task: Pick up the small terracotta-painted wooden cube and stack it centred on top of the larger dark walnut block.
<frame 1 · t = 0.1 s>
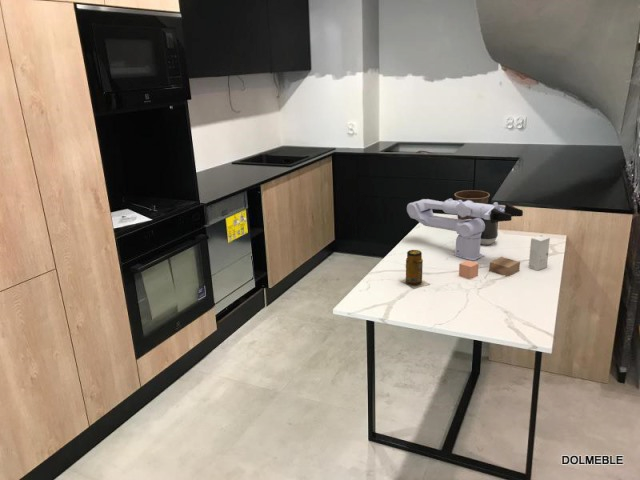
hand: (516, 215, 189), 22 cm above the table, tool horizontal, fingers open, 7 cm apart
condiment: (414, 283, 188), on the table
terracotta cube: (468, 275, 192), on the table
walnut block: (504, 271, 194), on the table
dark grey rounded figure: (485, 243, 224), on the table
plant pot: (470, 226, 248), on the table
skincare box: (537, 267, 196), on the table
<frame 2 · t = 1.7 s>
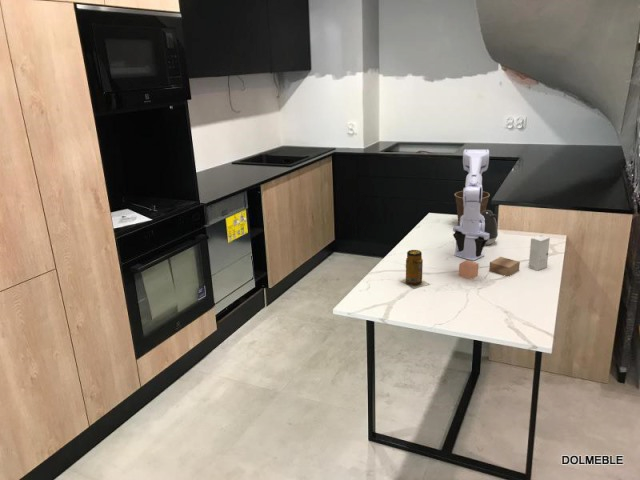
hand: (469, 253, 189), 9 cm above the table, tool pointing down, fingers open, 7 cm apart
nothing on the table moved.
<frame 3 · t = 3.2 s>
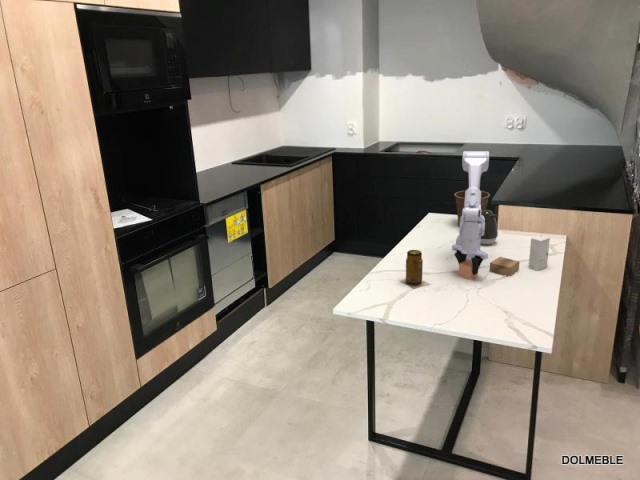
hand: (468, 272, 191), 1 cm above the table, tool pointing down, fingers closed on terracotta cube, 5 cm apart
terracotta cube: (468, 275, 192), on the table, touching gripper
everything else where it was.
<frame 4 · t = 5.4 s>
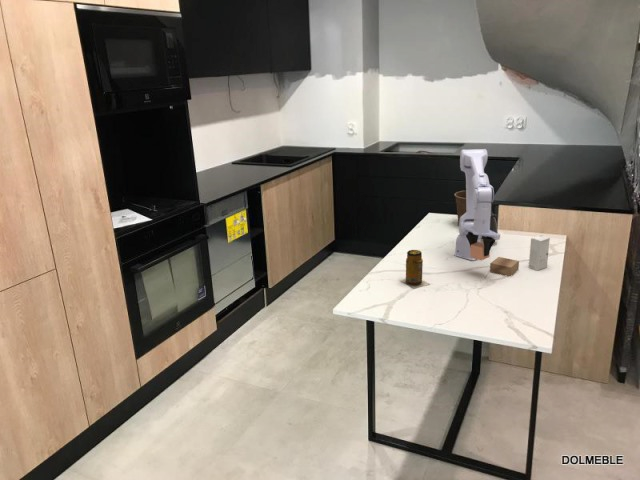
hand: (480, 253, 190), 8 cm above the table, tool pointing down, fingers closed on terracotta cube, 5 cm apart
terracotta cube: (479, 257, 190), point 7 cm above the table, touching gripper
everything else where it was.
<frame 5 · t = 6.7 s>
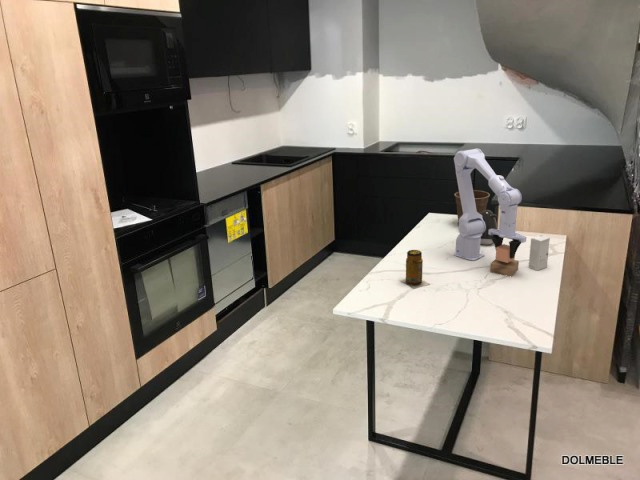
hand: (505, 255, 192), 6 cm above the table, tool pointing down, fingers closed on terracotta cube, 5 cm apart
terracotta cube: (505, 259, 193), point 5 cm above the table, touching gripper
everything else where it was.
when the fingers open (6 cm above the table, at t = 7.6 s): terracotta cube stays where it is, point 4 cm above the table.
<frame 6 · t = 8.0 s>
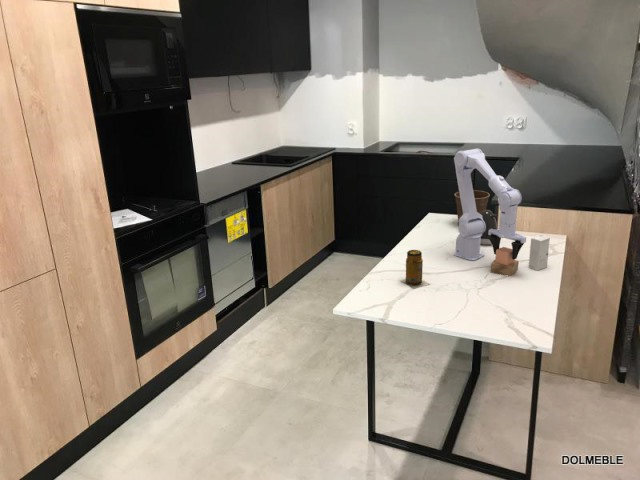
hand: (505, 256, 192), 6 cm above the table, tool pointing down, fingers open, 7 cm apart
terracotta cube: (504, 262, 193), point 4 cm above the table
everything else where it was.
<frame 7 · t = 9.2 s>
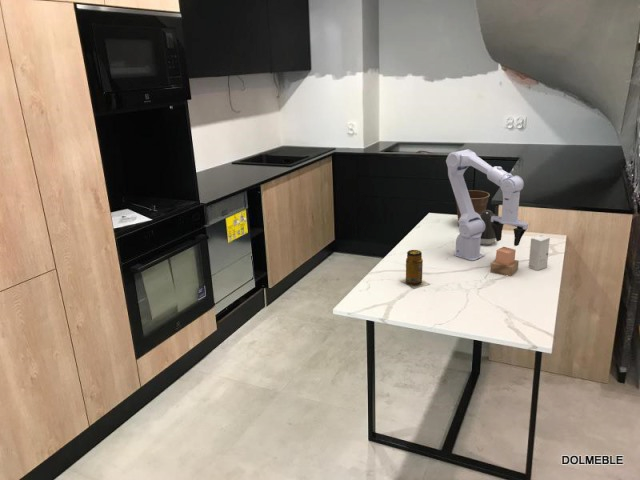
hand: (507, 242, 194), 10 cm above the table, tool pointing down, fingers open, 7 cm apart
nothing on the table moved.
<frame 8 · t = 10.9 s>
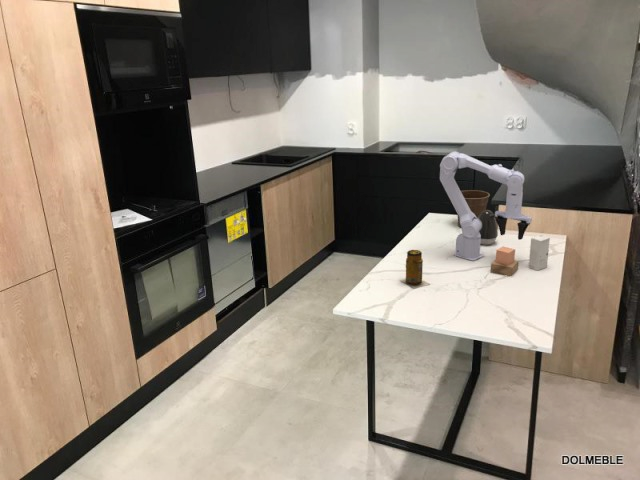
hand: (511, 236, 200), 10 cm above the table, tool pointing down, fingers open, 7 cm apart
terracotta cube: (504, 261, 193), point 4 cm above the table, touching walnut block
walnut block: (504, 271, 194), on the table, touching terracotta cube
everything else where it was.
at the end: terracotta cube 0.5 cm off-centre on the walnut block, point 4.0 cm above the walnut block's base; terracotta cube tilted 0°; the gripper is holding nothing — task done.
